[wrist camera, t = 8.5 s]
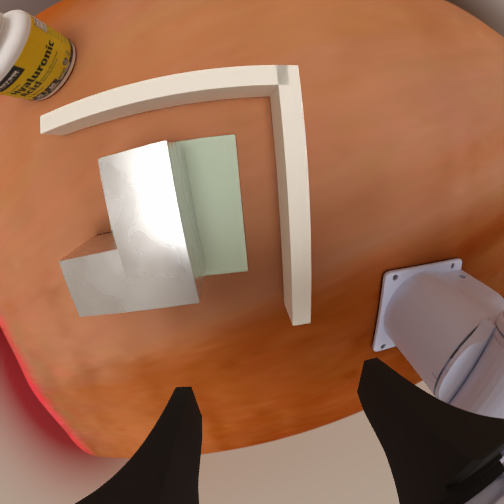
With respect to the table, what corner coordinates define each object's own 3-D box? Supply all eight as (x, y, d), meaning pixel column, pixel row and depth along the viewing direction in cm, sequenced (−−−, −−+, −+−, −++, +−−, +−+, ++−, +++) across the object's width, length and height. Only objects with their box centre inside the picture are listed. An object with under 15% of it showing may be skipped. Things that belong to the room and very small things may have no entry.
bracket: (206, 266, 18) (199, 302, 14) (108, 281, 18) (79, 316, 13) (183, 145, 16) (166, 140, 11) (81, 173, 15) (39, 181, 11)
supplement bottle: (44, 114, 14) (-51, 106, 4) (18, 82, 12) (-64, 67, 3) (90, 56, 13) (9, 8, 4) (59, 29, 11) (-12, -12, 2)
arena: (286, 79, 15) (297, 65, 12) (299, 301, 20) (310, 322, 17) (63, 119, 14) (40, 116, 11) (103, 318, 19) (89, 340, 16)
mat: (234, 134, 16) (235, 134, 16) (247, 269, 19) (248, 270, 19) (101, 157, 15) (100, 157, 15) (125, 282, 18) (124, 283, 18)
